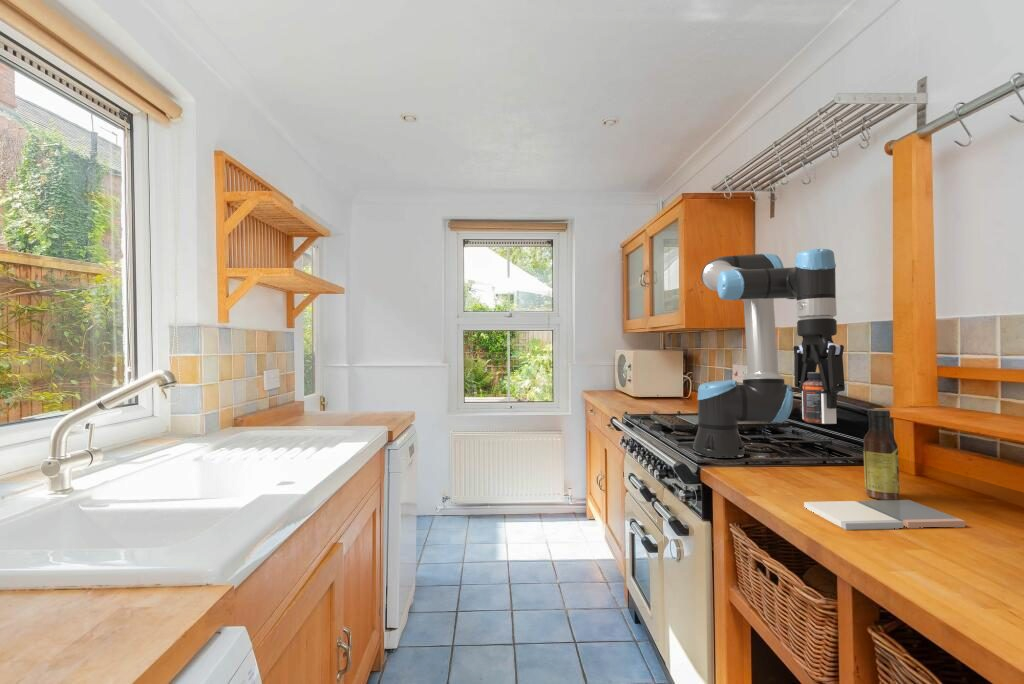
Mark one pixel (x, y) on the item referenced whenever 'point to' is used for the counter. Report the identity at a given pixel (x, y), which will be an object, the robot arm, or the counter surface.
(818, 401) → the supplement bottle
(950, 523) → the grey square coaster
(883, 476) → the sauce bottle
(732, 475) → the counter surface
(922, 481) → the counter surface
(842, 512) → the cream square tile
